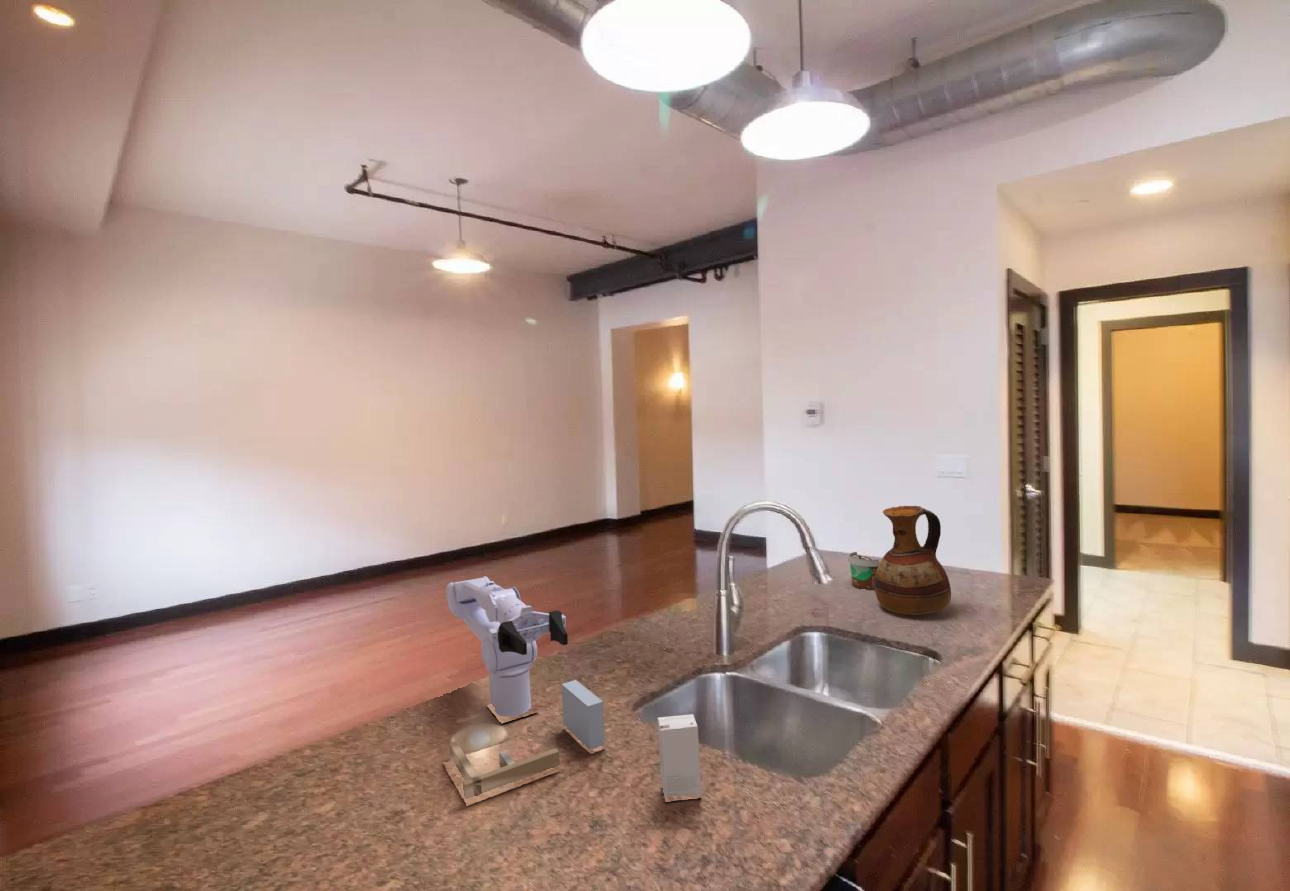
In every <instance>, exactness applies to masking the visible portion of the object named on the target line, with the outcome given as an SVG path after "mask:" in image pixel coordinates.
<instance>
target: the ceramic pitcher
mask: <svg viewBox="0 0 1290 891" xmlns="http://www.w3.org/2000/svg"><path fill="white" fill-rule="evenodd" d="M882 513H883V515H884V516H886V517H887V518H888V519H889V520H890V522H891V524H892V535H893V537H894V541H893V546H892V548H891V549H889V550H888V551H886V553H885V554H884V555H883V556H882V558H881V560H879V562H880V563H879V565H878V568H877V571H876V576H875V590H874V592H875V596H876V599H877V601H878V604H880V605H881V607H883V608H884V609H886V610H888V611H890V612H892V613H897V614H902V615H903V614H904V615H924V614H930V613H935V612H938V611H941V610H943V609H945V608H946V607H947V606H949V605H950V602H951V598H952V590H951V583H950V579H949V577H948V574H947V572H946V570H945V568H944V566H943V565H942V564H941V562H940V561H939V560H938V558H937V549H938V547H939V543H940V538H941V533H942V532H941V528H942V526H941V521H940V519H939V517H938V515H936V514H935V513H934V512H933V511H931V510H929V509H926V508H924V507H921V506H918V505H899V506H895V507H894V506H892V507H888V508H885V509H884V510H883V511H882ZM924 515H925V516H926V520H927V536H926V539H925V542H924V545H921V544H920V542H919V541H918V537H917V529H916V526H917V522H918V520H919V518H920V517H921V516H924Z"/></svg>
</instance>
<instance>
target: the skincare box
mask: <svg viewBox="0 0 1290 891" xmlns="http://www.w3.org/2000/svg"><path fill="white" fill-rule="evenodd" d="M656 720H657V732H658V733H657V734H658V748H659V752H658V753H659V765H660V767H659V769H660V782H661V783H662V785H661V789H662V788H663V790H662V794H663V793H664V796H663V798H664V797H671V796H687V795H697V794H698V795H700V794H701V795H702V780H701V759H700V757H701V756H700V741H699V727H698V724H697V722H696V718H695V715H694V714H693V713H691V714H682V715H672V716H671V715H670V716H661V717H660V716H659V717H657V719H656ZM661 783H660V784H661Z"/></svg>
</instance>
